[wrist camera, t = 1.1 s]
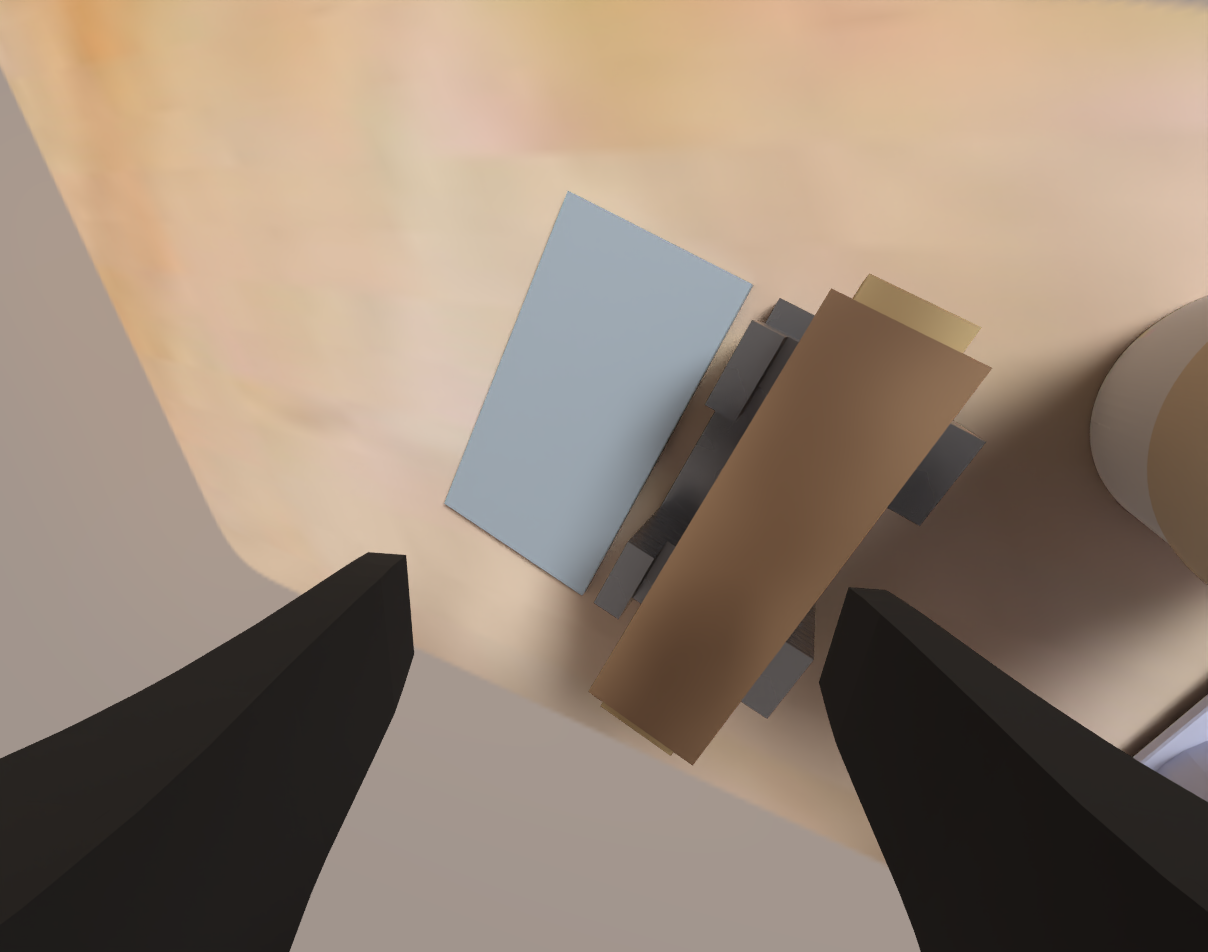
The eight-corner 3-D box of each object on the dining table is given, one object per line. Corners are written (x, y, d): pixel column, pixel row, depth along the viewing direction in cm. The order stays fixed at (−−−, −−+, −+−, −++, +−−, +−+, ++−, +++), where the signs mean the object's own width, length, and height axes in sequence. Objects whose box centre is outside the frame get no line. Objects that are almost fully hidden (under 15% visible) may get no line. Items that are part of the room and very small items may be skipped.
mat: (753, 285, 18) (752, 284, 18) (584, 592, 23) (582, 595, 23) (571, 192, 19) (568, 190, 19) (448, 501, 24) (444, 503, 24)
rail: (970, 338, 14) (1013, 339, 11) (705, 705, 19) (681, 779, 16) (842, 275, 14) (848, 259, 11) (618, 646, 19) (579, 706, 16)
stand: (964, 392, 17) (1010, 411, 13) (766, 657, 21) (752, 736, 17) (781, 299, 18) (769, 289, 14) (627, 568, 22) (582, 621, 18)
